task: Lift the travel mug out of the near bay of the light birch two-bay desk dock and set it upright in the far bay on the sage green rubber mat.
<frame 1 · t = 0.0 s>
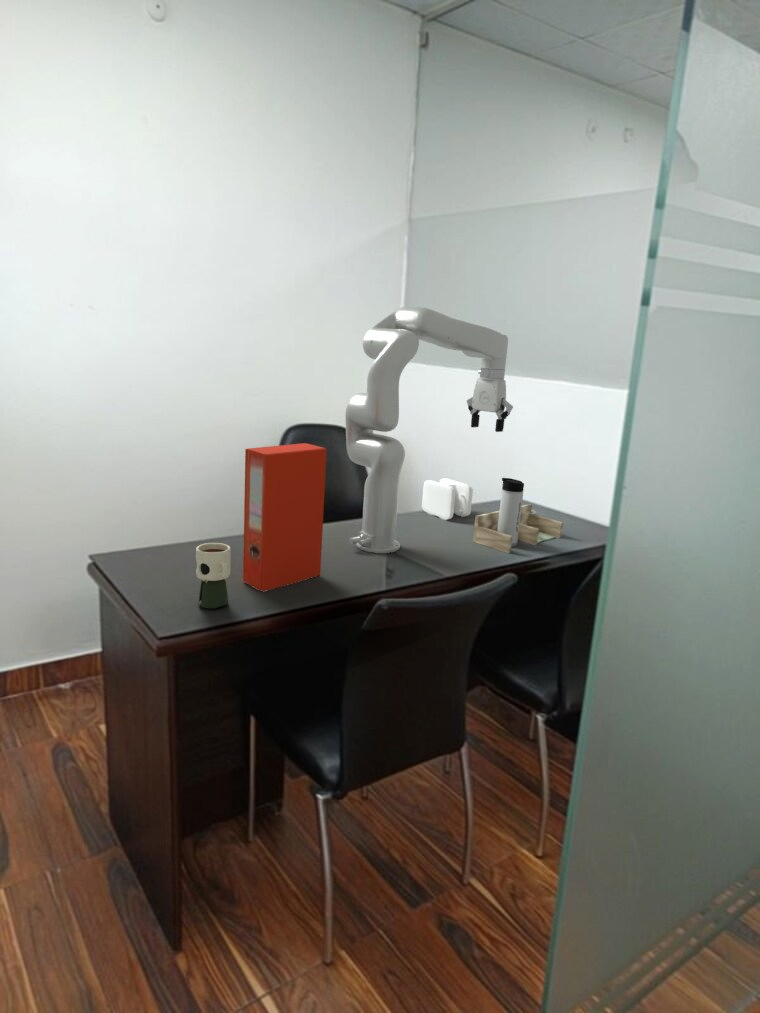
hand: (486, 429, 212), 31 cm above the table, tool pointing down, fingers open, 9 cm apart
desk dock: (519, 539, 205), on the table
travel mug: (505, 544, 200), on the table
cable organizer: (445, 515, 229), on the table
file binder: (282, 580, 161), on the table
character mug: (213, 606, 144), on the table
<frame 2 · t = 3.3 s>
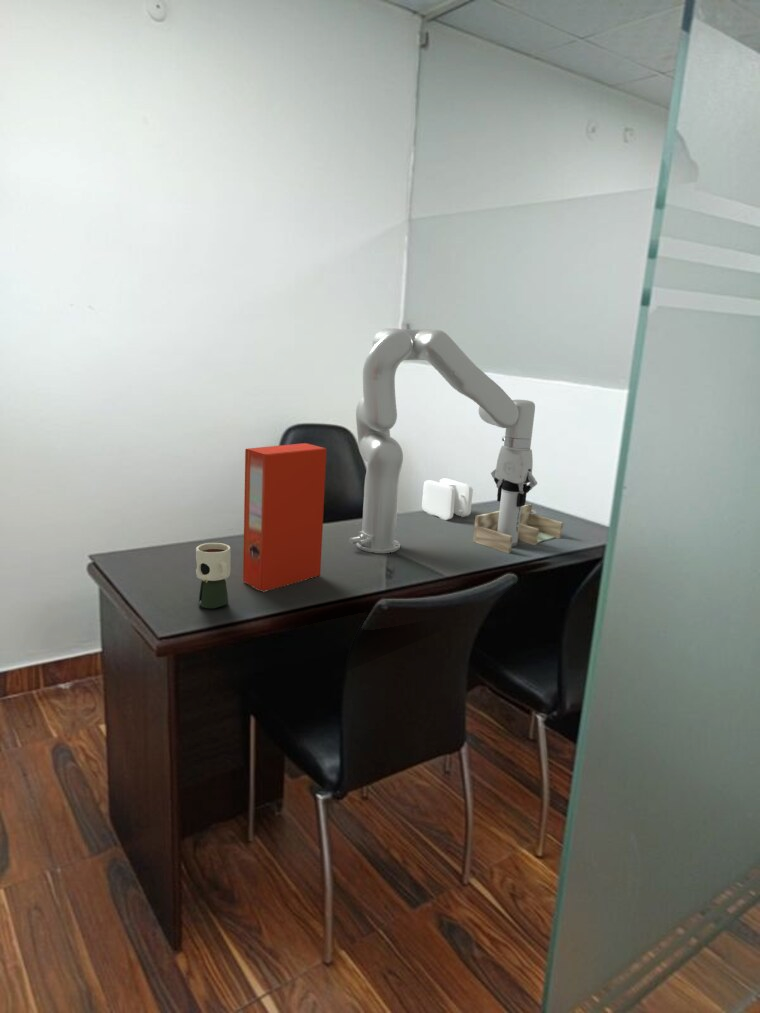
hand: (510, 502, 197), 13 cm above the table, tool pointing down, fingers closed on travel mug, 6 cm apart
travel mug: (505, 544, 200), on the table, touching gripper
everything else where it was.
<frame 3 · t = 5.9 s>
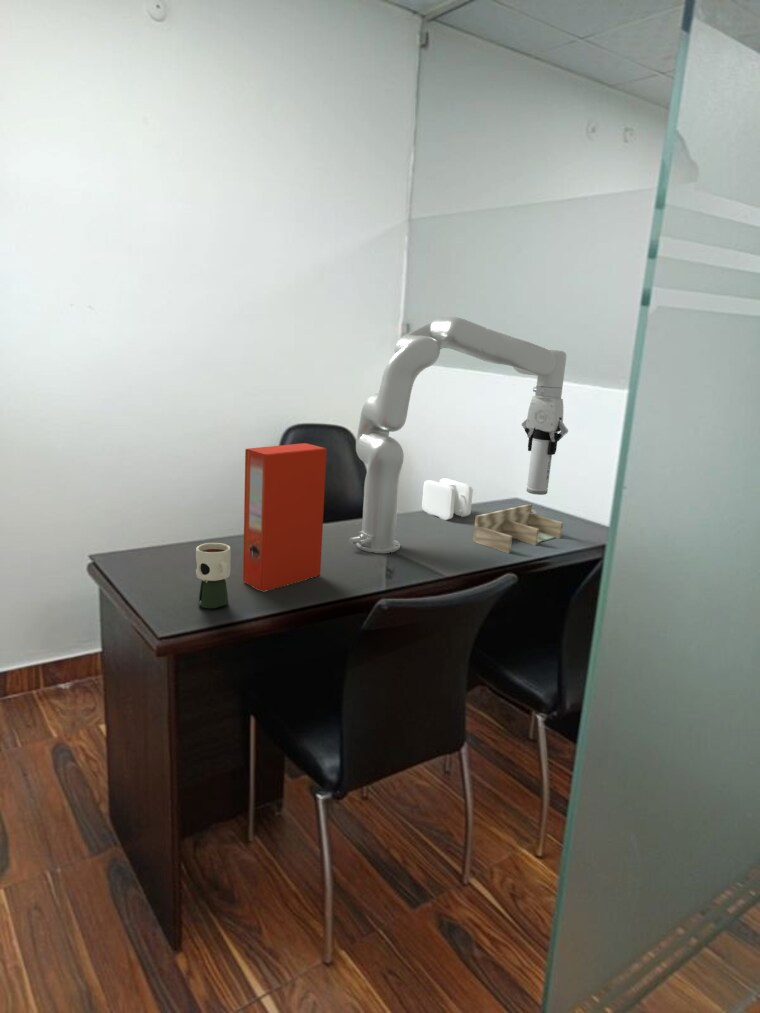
hand: (541, 452, 202), 27 cm above the table, tool pointing down, fingers closed on travel mug, 6 cm apart
travel mug: (536, 493, 206), point 14 cm above the table, touching gripper
everything else where it was.
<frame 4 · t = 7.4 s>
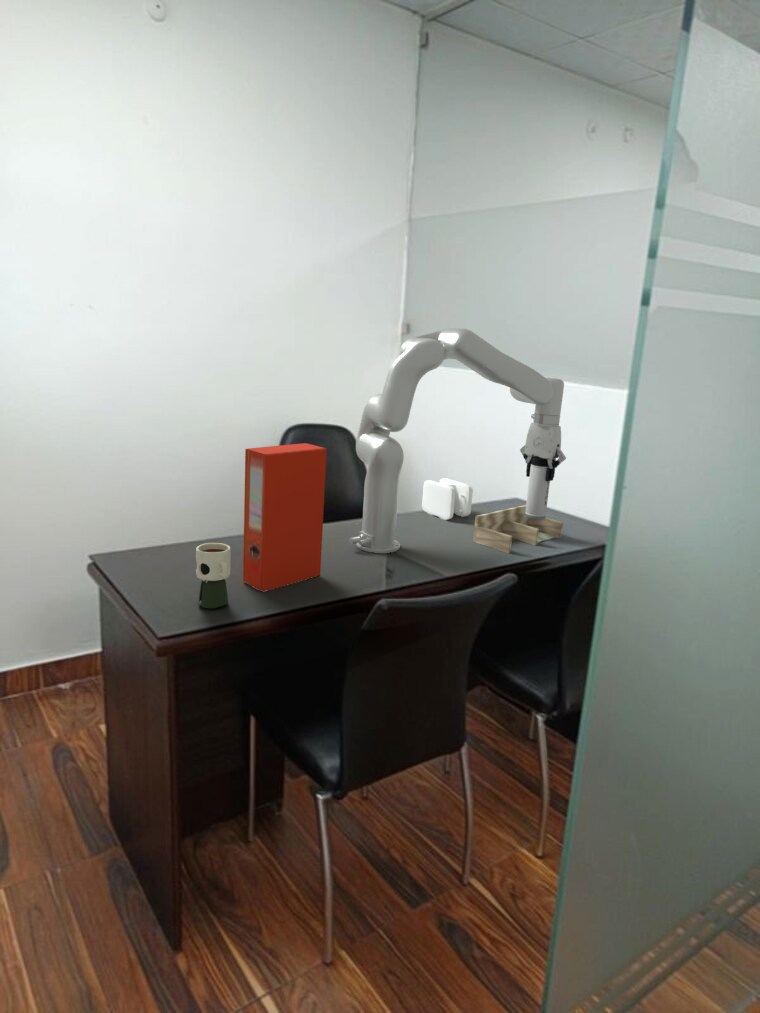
hand: (539, 477, 205), 19 cm above the table, tool pointing down, fingers closed on travel mug, 6 cm apart
travel mug: (534, 518, 208), point 6 cm above the table, touching gripper
everything else where it was.
when the fingers open (14 cm above the table, at t = 8.7 s): travel mug drops 1 cm, resting on desk dock.
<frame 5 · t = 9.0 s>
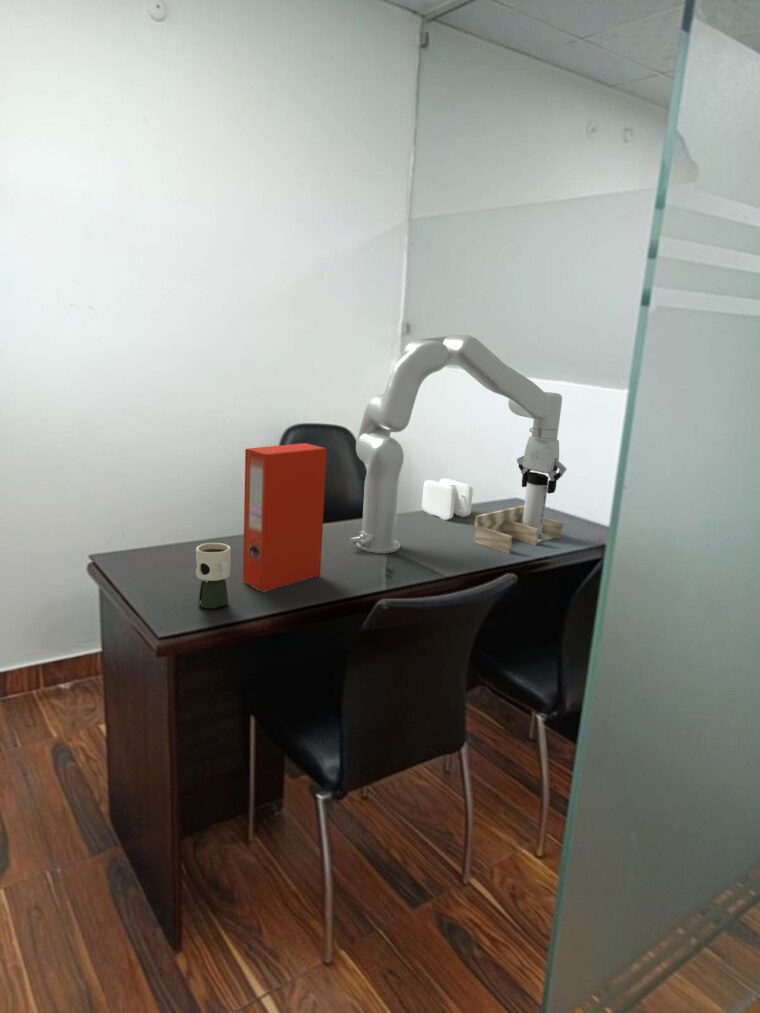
hand: (537, 489, 206), 15 cm above the table, tool pointing down, fingers open, 8 cm apart
travel mug: (530, 535, 210), resting on desk dock
everything else where it was.
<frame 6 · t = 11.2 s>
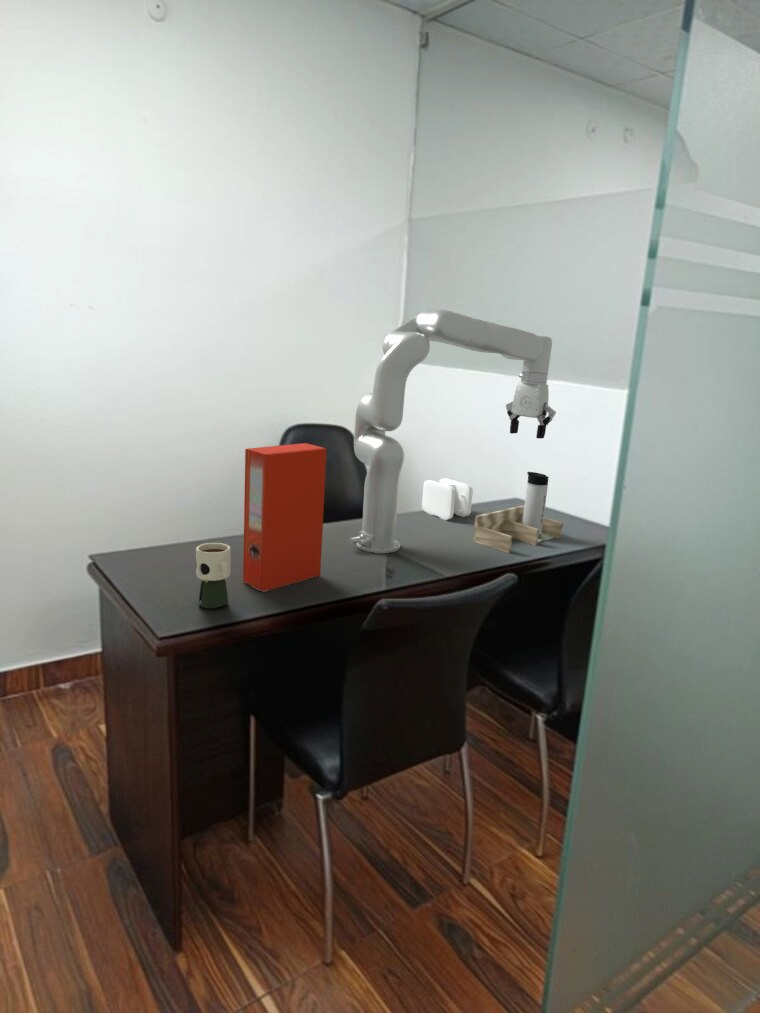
hand: (526, 435, 203), 31 cm above the table, tool pointing down, fingers open, 9 cm apart
nothing on the table moved.
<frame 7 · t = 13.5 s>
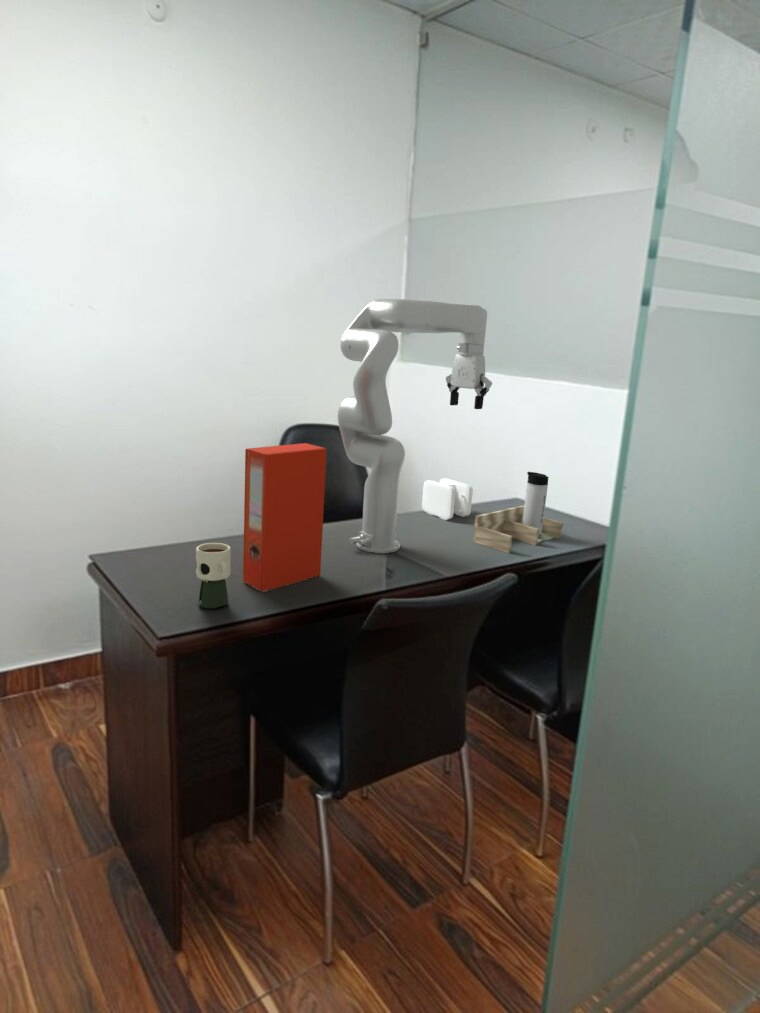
hand: (465, 407, 206), 38 cm above the table, tool pointing down, fingers open, 9 cm apart
nothing on the table moved.
at the end: travel mug inside the target area on the desk dock (0.5 cm from its centre), point 0.2 cm above the desk dock's base; travel mug tilted 0°; the gripper is holding nothing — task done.
